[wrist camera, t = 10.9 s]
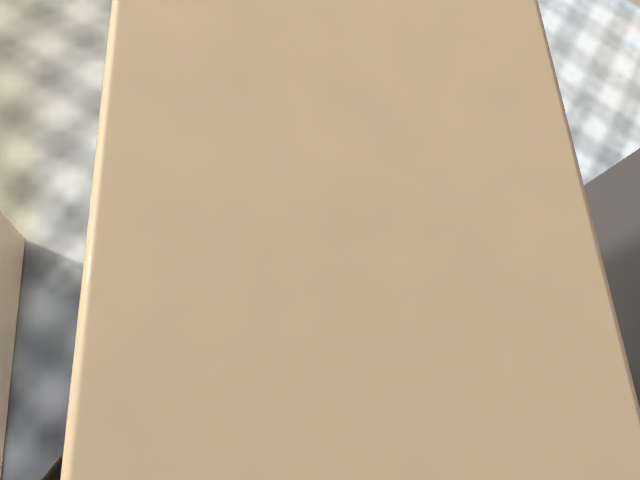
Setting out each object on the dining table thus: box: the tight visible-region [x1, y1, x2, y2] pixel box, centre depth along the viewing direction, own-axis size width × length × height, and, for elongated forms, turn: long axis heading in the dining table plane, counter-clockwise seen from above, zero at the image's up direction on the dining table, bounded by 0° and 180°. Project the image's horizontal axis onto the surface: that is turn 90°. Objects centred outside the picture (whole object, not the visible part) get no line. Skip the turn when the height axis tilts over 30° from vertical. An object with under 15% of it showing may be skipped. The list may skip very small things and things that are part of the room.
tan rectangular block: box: [60, 0, 640, 480], centre depth 10 cm, size 8×2×14 cm, turn 2°
